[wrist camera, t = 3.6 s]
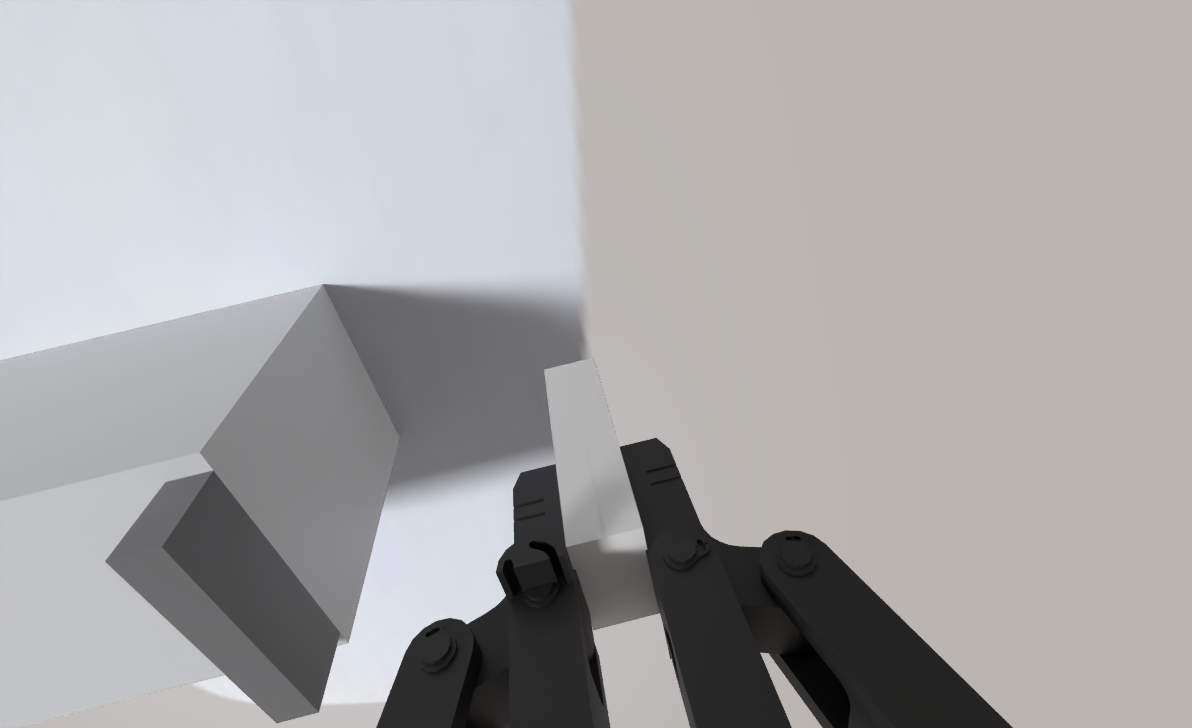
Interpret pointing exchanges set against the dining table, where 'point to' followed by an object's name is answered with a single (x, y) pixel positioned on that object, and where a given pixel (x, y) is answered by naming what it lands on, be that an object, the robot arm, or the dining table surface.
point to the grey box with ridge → (187, 509)
